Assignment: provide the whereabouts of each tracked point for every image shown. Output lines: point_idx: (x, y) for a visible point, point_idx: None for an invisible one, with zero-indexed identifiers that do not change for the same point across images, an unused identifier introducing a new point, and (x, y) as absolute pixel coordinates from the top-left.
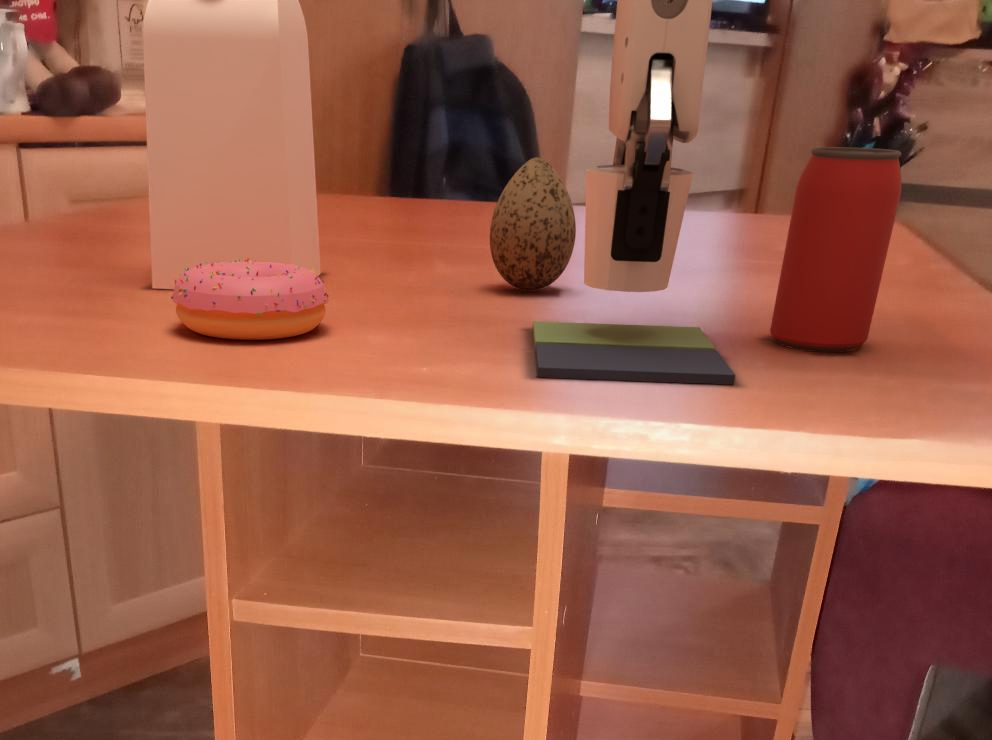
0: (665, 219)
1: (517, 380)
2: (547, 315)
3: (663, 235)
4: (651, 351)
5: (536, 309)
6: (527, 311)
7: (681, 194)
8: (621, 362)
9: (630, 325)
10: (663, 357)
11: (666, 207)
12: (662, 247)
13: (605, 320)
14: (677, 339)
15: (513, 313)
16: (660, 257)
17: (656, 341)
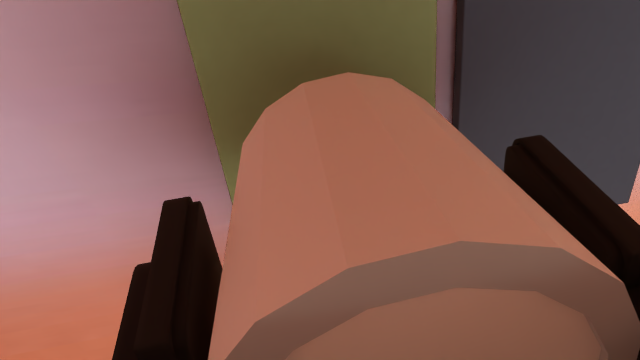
0: (604, 194)
1: (631, 213)
2: (76, 266)
3: (575, 167)
4: (502, 42)
5: (19, 293)
6: (54, 301)
7: (528, 210)
8: (603, 90)
9: (218, 107)
10: (559, 14)
11: (624, 219)
12: (555, 148)
13: (62, 162)
14: None
15: (93, 315)
16: (542, 136)
17: (393, 38)
